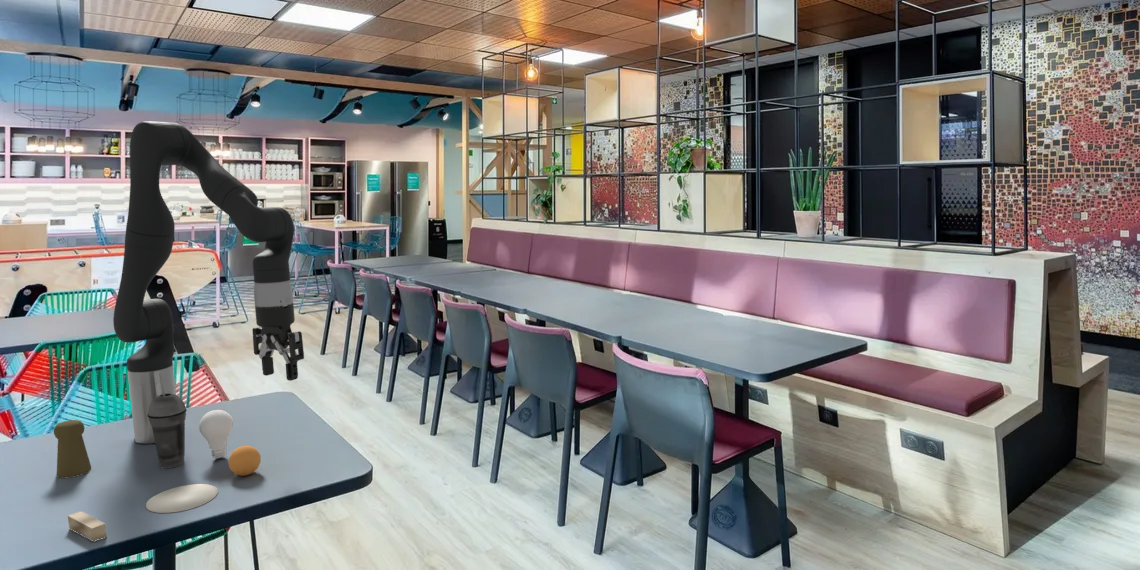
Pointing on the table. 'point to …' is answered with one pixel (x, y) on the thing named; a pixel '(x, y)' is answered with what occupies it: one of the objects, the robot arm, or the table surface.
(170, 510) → the plate
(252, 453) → the ball
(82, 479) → the table surface
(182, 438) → the beverage cup
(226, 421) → the light bulb
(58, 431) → the cork
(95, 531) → the rail
